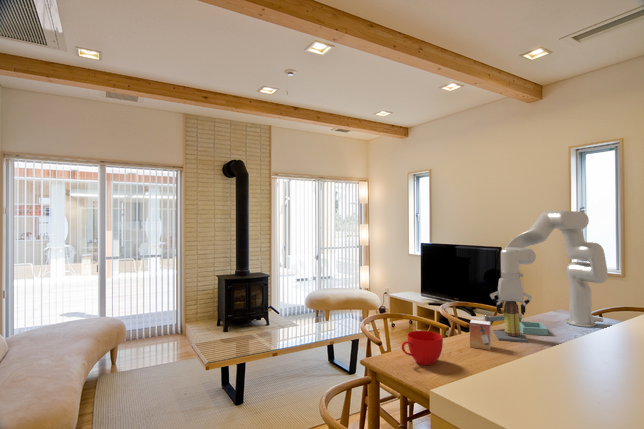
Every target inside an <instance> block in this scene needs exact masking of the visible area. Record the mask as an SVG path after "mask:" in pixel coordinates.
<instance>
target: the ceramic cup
mask: <svg viewBox="0 0 644 429" xmlns="http://www.w3.org/2000/svg"><path fill="white" fill-rule="evenodd" d="M406 336H407V337H406V338H407V341H406V340H405V341H403V342H402V343H401V350H402V352H403V353H404V354H405V355H408V356H410V357H412V359H414V360H415V362H416V363H417V364H419V365H420V366H421V365H422V366H432V365H434V364H435V363H436V362H437V361H438V360H439V359H440V357H441V355H442V350H443V346H444V344H443V341H444V340H443V339H444V338H443V335H441V334H440V333H437V332H434V331H429V330H414V331H410V332H408V333H407V335H406ZM406 345H408V346H407V347H408V350H409V352H408V351H406V349H405V346H406Z"/></svg>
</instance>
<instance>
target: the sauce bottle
mask: <svg viewBox="0 0 644 429" xmlns="http://www.w3.org/2000/svg"><path fill="white" fill-rule="evenodd" d="M503 306H504V307H503V315H504V320H503V321H504V331H505V333H506V335H508V336H513V337H517V336H520V332H521V331H520V322H519V313H520V309H519V305H518V302H514V301H505V304H504V305H503Z"/></svg>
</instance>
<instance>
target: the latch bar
mask: <svg viewBox="0 0 644 429" xmlns="http://www.w3.org/2000/svg"><path fill="white" fill-rule="evenodd" d="M483 316H484V321H487V322H500V321H501V322H502V321H504V314H502V315H489V314H484V315H483ZM522 319H523V314H521V312H519V320H521V321H522Z"/></svg>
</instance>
